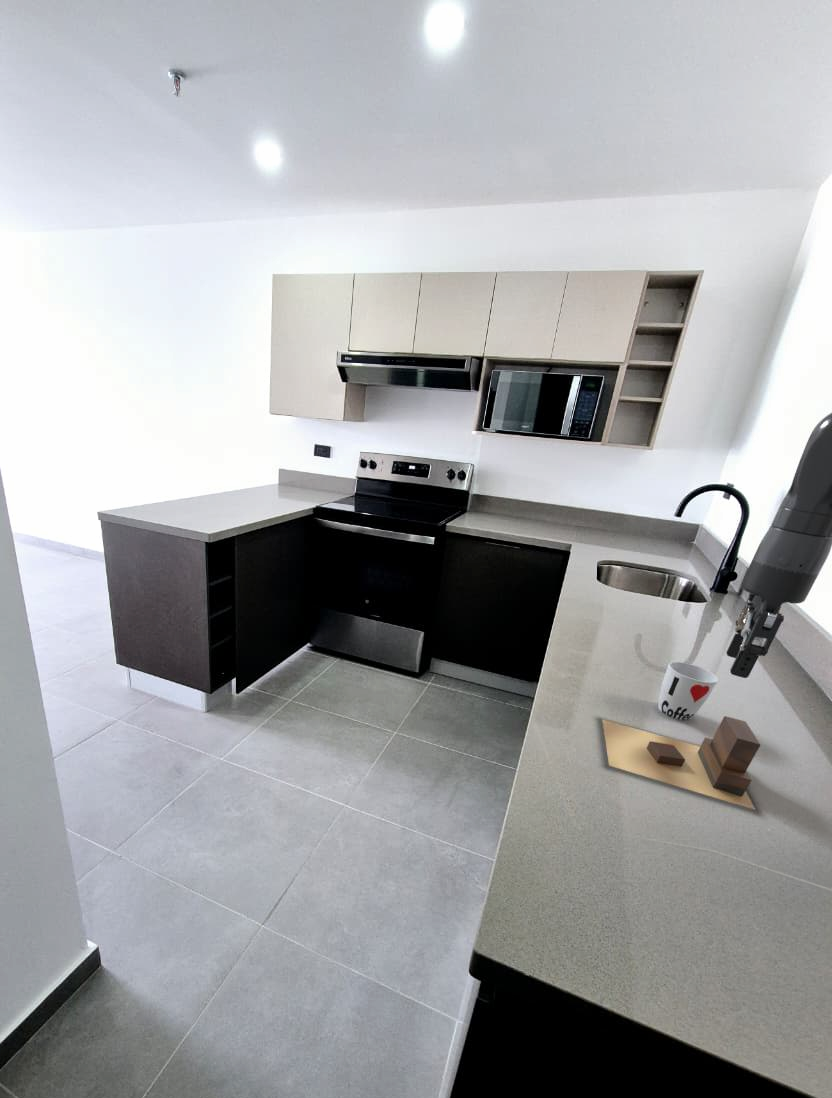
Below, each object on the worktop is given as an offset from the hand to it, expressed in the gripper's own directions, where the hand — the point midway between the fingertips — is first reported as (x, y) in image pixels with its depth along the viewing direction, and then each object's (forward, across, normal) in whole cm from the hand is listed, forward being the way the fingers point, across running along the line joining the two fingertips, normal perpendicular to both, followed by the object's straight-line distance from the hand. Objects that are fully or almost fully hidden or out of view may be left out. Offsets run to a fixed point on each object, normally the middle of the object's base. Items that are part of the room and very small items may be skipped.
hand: (735, 665), depth 77 cm
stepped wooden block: (+17, -2, -4) cm, 18 cm away
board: (+18, -3, +3) cm, 19 cm away
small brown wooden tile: (+17, -3, +4) cm, 18 cm away
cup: (+19, +16, +3) cm, 25 cm away
